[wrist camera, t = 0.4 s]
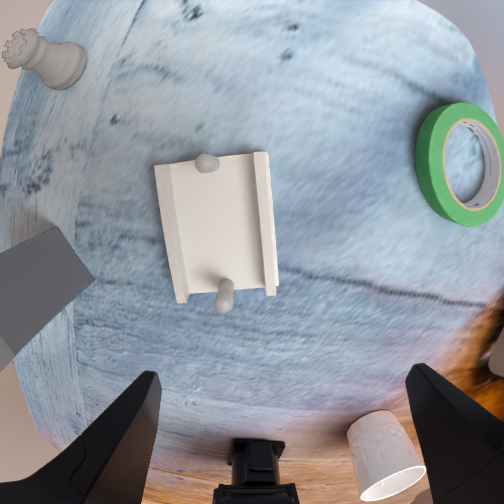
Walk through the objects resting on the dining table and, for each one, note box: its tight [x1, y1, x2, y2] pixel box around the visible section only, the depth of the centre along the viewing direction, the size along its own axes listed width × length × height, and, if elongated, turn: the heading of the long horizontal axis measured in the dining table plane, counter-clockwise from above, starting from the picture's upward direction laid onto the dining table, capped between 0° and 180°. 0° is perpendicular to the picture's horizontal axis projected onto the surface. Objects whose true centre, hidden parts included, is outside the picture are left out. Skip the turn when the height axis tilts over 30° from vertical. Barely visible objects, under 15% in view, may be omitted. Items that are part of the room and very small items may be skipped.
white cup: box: [347, 410, 426, 501], centre depth 25 cm, size 8×8×10 cm
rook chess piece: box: [2, 28, 87, 90], centre depth 13 cm, size 4×4×8 cm
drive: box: [0, 227, 95, 372], centre depth 17 cm, size 6×4×12 cm, turn 35°
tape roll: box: [415, 102, 504, 227], centre depth 19 cm, size 11×11×3 cm
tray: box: [154, 151, 279, 313], centre depth 20 cm, size 10×8×4 cm
